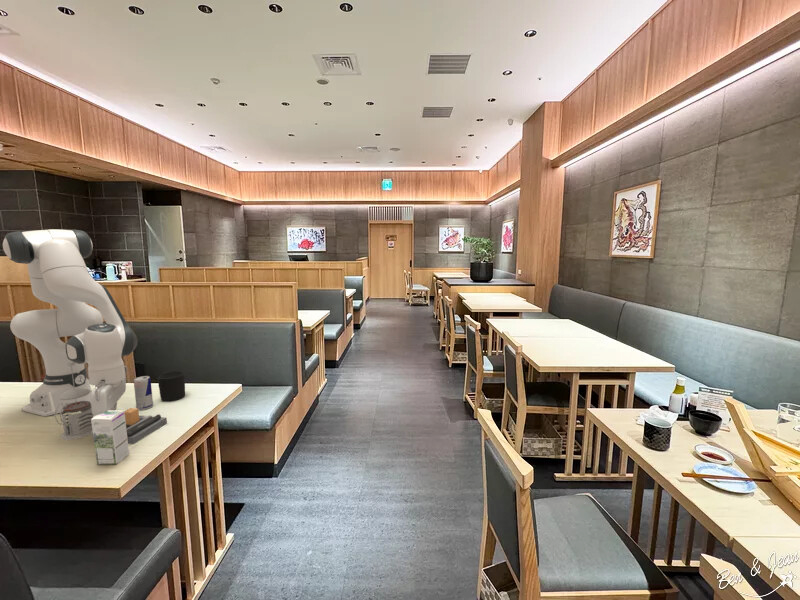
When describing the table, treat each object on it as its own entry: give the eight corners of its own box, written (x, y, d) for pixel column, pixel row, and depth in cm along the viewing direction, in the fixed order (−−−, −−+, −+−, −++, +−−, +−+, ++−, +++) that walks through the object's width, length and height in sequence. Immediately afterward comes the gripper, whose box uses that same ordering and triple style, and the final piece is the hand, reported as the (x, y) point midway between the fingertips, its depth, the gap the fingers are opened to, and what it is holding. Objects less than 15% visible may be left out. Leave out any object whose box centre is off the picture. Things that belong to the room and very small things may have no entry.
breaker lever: (124, 426, 122) (122, 412, 121) (131, 422, 124) (130, 408, 124) (132, 427, 121) (130, 412, 120) (139, 422, 124) (138, 408, 123)
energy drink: (156, 404, 144) (153, 376, 142) (145, 410, 138) (142, 381, 137) (144, 404, 144) (141, 375, 142) (133, 410, 139) (129, 380, 137)
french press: (106, 425, 127) (98, 357, 123) (76, 443, 116) (66, 368, 112) (79, 424, 127) (70, 356, 124) (46, 442, 116) (35, 368, 112)
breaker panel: (95, 440, 117) (93, 430, 117) (132, 420, 131) (131, 410, 130) (133, 443, 115) (132, 433, 115) (166, 422, 129) (166, 413, 129)
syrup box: (130, 453, 110) (125, 409, 108) (116, 465, 104) (110, 418, 102) (111, 453, 110) (105, 409, 108) (95, 465, 104) (89, 418, 102)
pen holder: (191, 393, 154) (189, 371, 153) (174, 403, 145) (172, 379, 144) (171, 392, 156) (169, 370, 154) (154, 401, 147) (151, 378, 145)
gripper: (109, 385, 105) (114, 429, 107) (128, 365, 124) (132, 403, 125) (81, 388, 102) (87, 433, 104) (105, 367, 121) (109, 406, 123)
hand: (112, 417), depth 115 cm, fingers closed
